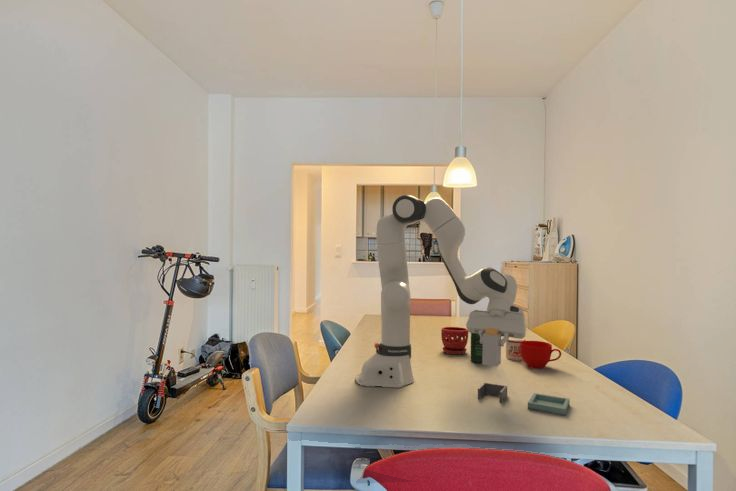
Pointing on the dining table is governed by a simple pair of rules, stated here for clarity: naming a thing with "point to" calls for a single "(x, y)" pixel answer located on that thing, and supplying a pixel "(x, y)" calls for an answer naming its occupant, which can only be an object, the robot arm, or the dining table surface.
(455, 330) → the plant pot
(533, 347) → the ceramic cup
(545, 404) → the tray
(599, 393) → the dining table surface
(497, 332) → the grey pillar orange cap
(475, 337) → the coffee jar
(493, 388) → the bay
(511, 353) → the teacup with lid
